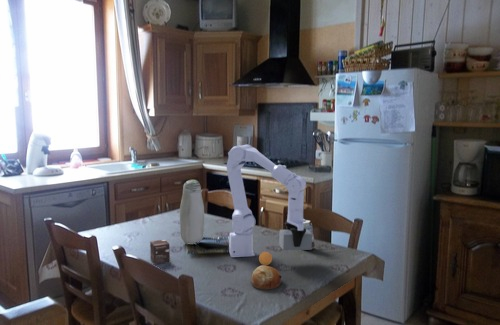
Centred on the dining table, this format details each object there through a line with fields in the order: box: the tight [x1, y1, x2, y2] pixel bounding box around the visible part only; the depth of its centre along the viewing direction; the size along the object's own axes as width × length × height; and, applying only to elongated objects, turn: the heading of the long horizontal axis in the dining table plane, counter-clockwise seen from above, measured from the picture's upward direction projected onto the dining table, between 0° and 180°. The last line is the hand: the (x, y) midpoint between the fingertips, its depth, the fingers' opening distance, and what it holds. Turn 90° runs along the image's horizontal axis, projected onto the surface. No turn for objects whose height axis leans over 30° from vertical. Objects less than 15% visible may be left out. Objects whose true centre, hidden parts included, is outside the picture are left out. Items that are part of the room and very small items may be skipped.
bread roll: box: [250, 264, 282, 290], centre depth 137 cm, size 10×10×8 cm
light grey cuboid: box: [278, 229, 313, 251], centre depth 154 cm, size 11×6×6 cm, turn 100°
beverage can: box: [303, 219, 315, 249], centre depth 171 cm, size 6×7×12 cm
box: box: [149, 239, 171, 265], centre depth 156 cm, size 6×6×7 cm
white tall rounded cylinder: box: [179, 179, 205, 245], centre depth 174 cm, size 10×10×28 cm
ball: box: [258, 251, 273, 266], centre depth 153 cm, size 5×5×5 cm
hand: (294, 243), depth 155 cm, fingers closed on light grey cuboid, 6 cm apart
